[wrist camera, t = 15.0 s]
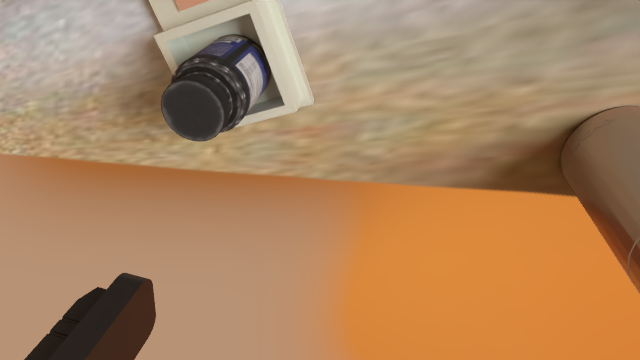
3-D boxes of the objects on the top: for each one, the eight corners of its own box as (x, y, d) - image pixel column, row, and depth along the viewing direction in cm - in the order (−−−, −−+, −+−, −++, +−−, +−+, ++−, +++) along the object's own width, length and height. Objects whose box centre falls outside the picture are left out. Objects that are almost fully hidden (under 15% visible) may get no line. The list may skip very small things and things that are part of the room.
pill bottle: (199, 78, 41) (140, 125, 31) (221, 19, 37) (162, 52, 28) (257, 109, 41) (216, 164, 32) (283, 54, 38) (246, 97, 29)
